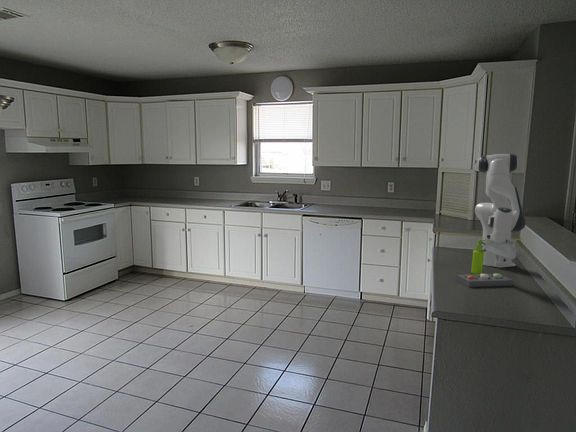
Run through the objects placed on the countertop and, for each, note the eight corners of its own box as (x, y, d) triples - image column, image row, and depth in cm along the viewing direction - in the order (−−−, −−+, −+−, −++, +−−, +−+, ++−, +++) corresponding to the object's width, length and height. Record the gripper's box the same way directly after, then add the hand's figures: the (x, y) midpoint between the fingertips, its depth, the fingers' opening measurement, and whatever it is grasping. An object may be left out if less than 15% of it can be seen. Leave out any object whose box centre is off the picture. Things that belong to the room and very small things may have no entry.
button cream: (484, 278, 225) (485, 273, 225) (489, 281, 222) (490, 275, 221) (478, 279, 225) (478, 273, 224) (483, 281, 221) (483, 275, 220)
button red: (471, 280, 224) (472, 275, 224) (476, 283, 220) (476, 277, 220) (464, 281, 223) (465, 275, 223) (469, 283, 219) (469, 277, 219)
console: (497, 278, 232) (497, 273, 231) (512, 285, 220) (513, 280, 219) (455, 280, 227) (456, 274, 226) (468, 286, 215) (469, 281, 215)
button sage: (497, 278, 227) (498, 273, 226) (502, 280, 223) (503, 275, 223) (491, 278, 226) (491, 273, 226) (496, 280, 222) (496, 275, 222)
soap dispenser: (485, 274, 239) (488, 241, 236) (472, 273, 240) (475, 240, 237) (482, 272, 245) (485, 239, 242) (470, 271, 246) (473, 238, 243)
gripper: (520, 242, 212) (517, 268, 214) (494, 234, 232) (491, 258, 234) (509, 242, 211) (506, 268, 213) (484, 234, 230) (481, 258, 232)
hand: (498, 263), depth 223 cm, fingers closed
